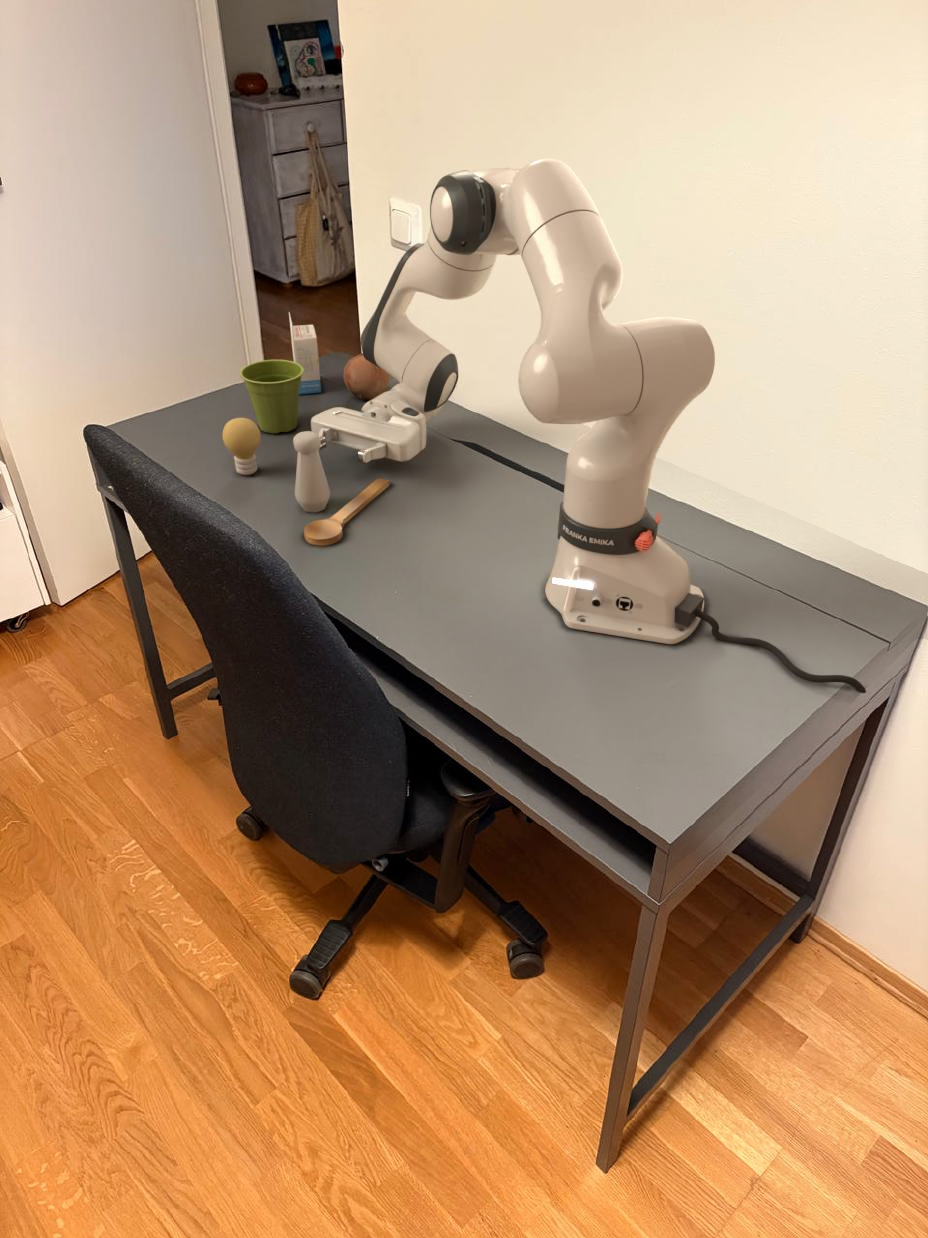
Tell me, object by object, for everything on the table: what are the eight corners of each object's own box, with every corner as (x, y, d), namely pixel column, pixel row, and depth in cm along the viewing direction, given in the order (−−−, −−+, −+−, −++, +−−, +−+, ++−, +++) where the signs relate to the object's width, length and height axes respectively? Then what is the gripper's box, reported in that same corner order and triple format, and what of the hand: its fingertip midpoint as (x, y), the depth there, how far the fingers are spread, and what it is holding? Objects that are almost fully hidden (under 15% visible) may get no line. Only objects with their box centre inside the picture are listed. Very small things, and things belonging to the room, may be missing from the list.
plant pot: (304, 440, 172) (298, 383, 165) (242, 439, 172) (233, 382, 166) (314, 413, 182) (308, 358, 175) (254, 413, 182) (246, 358, 175)
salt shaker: (324, 517, 149) (317, 444, 142) (291, 513, 150) (282, 441, 142) (335, 499, 154) (329, 428, 146) (303, 496, 155) (295, 425, 147)
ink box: (322, 392, 190) (315, 322, 181) (298, 395, 189) (290, 324, 180) (318, 377, 196) (311, 308, 188) (295, 379, 196) (287, 310, 187)
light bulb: (268, 476, 160) (261, 424, 154) (232, 483, 159) (223, 430, 153) (261, 461, 165) (253, 409, 159) (226, 467, 163) (217, 415, 157)
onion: (371, 402, 193) (377, 353, 191) (395, 404, 186) (401, 354, 184) (332, 396, 187) (337, 346, 185) (355, 398, 180) (361, 346, 178)
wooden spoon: (369, 480, 159) (368, 474, 159) (399, 487, 157) (398, 481, 157) (297, 540, 144) (296, 533, 143) (329, 549, 142) (328, 542, 141)
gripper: (336, 392, 165) (287, 420, 156) (432, 416, 157) (387, 447, 147) (339, 425, 169) (292, 454, 159) (433, 450, 161) (389, 482, 151)
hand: (338, 451), depth 153 cm, fingers open, 8 cm apart
